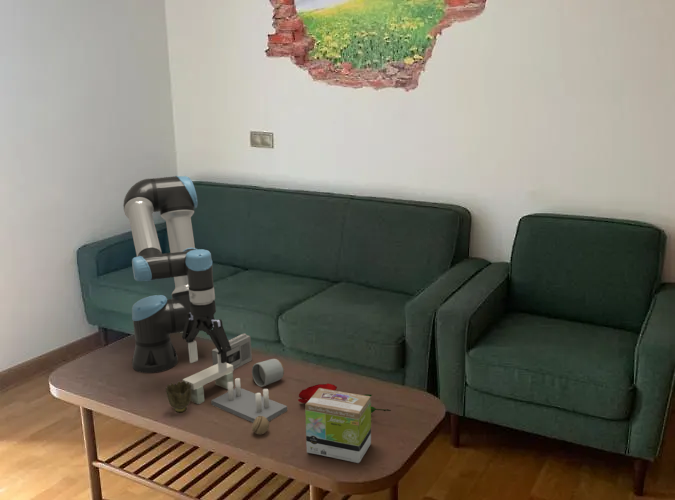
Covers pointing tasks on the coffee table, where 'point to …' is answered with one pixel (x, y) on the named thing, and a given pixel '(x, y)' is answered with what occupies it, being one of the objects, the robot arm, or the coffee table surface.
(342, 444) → the tea box
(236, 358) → the cassette player
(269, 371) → the ceramic mug
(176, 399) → the cup
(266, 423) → the walnut
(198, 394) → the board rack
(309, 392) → the flower
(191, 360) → the robot arm
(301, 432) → the coffee table surface
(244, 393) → the peg stand
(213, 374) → the shelf board
